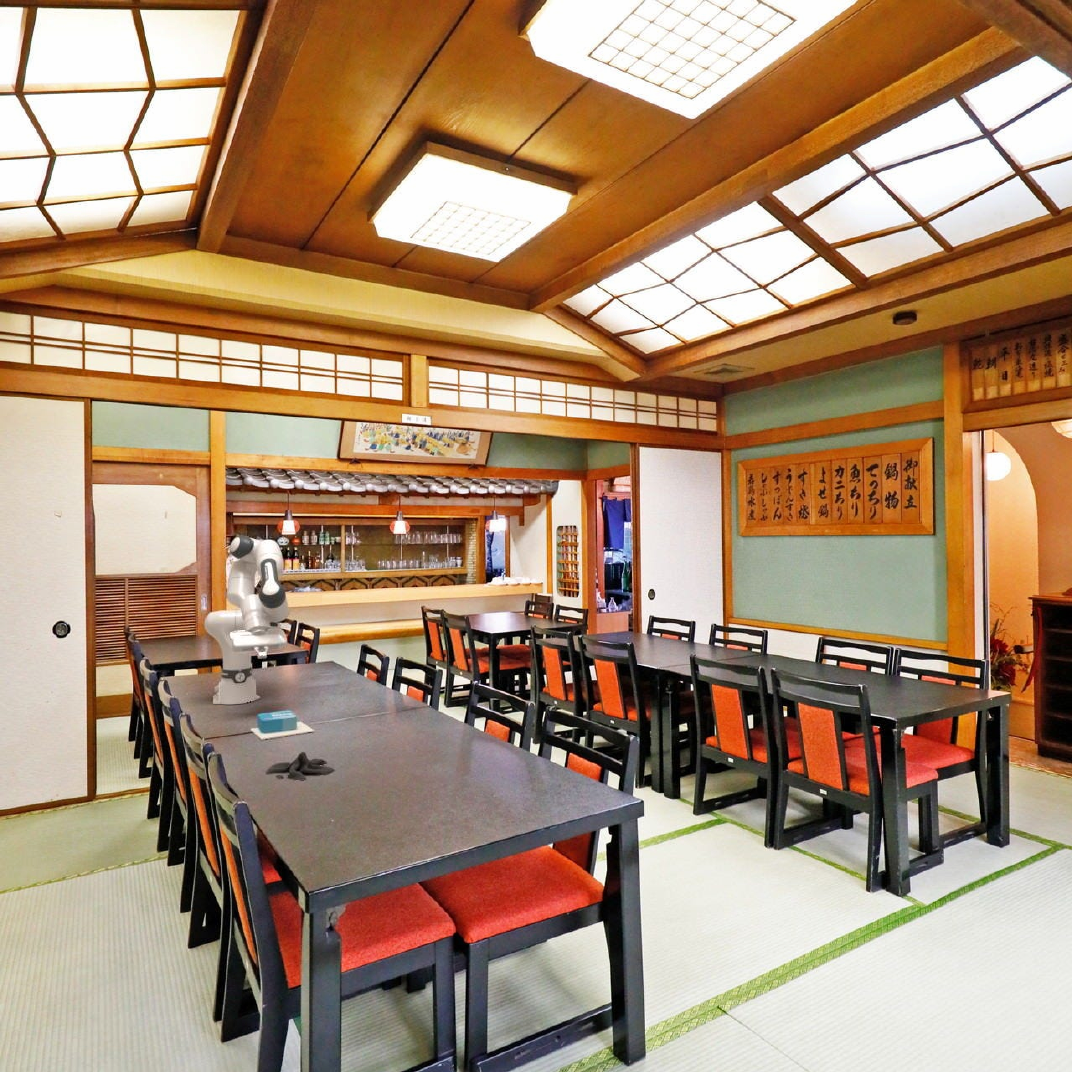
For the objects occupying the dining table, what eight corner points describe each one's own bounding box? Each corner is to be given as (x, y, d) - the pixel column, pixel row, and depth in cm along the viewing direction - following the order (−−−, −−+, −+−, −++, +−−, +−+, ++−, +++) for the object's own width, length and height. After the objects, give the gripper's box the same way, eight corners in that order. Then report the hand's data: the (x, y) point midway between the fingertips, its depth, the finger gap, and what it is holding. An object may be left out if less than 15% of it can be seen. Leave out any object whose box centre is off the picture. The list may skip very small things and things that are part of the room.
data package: (291, 710, 259) (297, 716, 248) (291, 722, 259) (297, 729, 248) (256, 713, 253) (262, 720, 242) (256, 726, 253) (262, 733, 242)
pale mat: (250, 730, 249) (250, 728, 249) (300, 723, 260) (300, 721, 260) (261, 740, 236) (261, 738, 236) (314, 732, 247) (314, 730, 247)
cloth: (259, 770, 207) (259, 749, 207) (321, 759, 217) (321, 739, 217) (277, 791, 188) (277, 768, 188) (345, 778, 199) (345, 757, 199)
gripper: (230, 626, 269) (235, 654, 260) (284, 623, 280) (290, 650, 272) (227, 636, 272) (232, 665, 264) (281, 633, 284) (287, 660, 276)
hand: (262, 657), depth 268 cm, fingers closed
